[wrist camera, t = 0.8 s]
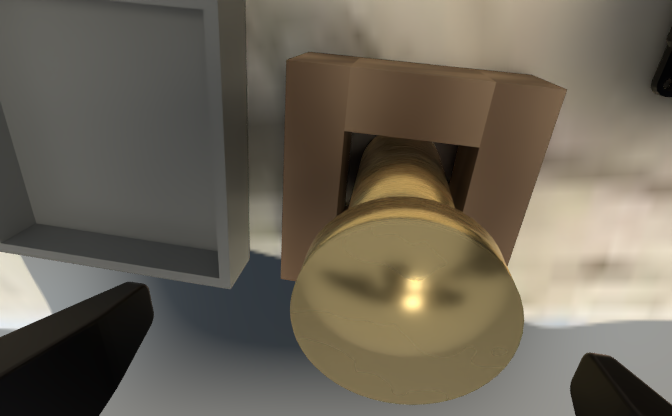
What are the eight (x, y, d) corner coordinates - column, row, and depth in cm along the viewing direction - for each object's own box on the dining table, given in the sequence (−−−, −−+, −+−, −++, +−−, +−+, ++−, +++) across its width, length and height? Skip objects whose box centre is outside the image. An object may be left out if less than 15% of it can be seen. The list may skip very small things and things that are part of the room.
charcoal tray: (245, -3, 17) (217, -7, 15) (249, 258, 24) (230, 289, 21) (-37, -29, 19) (-110, -37, 16) (38, 225, 25) (-6, 250, 22)
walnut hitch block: (531, 75, 17) (566, 89, 14) (476, 263, 22) (491, 312, 18) (308, 51, 18) (286, 59, 14) (299, 237, 22) (280, 278, 19)
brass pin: (469, 118, 18) (558, 245, 8) (444, 223, 21) (488, 421, 11) (350, 105, 19) (294, 208, 9) (340, 208, 21) (286, 384, 11)
